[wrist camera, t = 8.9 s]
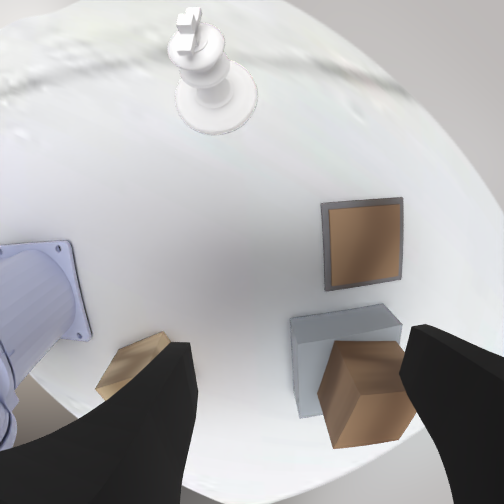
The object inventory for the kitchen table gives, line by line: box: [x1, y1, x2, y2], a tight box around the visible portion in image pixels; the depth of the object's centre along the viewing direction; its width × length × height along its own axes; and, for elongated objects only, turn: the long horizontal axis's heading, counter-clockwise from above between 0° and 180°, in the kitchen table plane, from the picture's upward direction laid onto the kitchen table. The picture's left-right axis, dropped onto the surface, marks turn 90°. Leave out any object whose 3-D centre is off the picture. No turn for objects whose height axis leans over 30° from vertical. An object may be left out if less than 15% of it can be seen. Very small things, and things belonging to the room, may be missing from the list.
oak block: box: [95, 331, 196, 401], centre depth 18 cm, size 4×4×5 cm
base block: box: [290, 304, 402, 418], centre depth 19 cm, size 7×7×4 cm
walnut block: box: [317, 340, 416, 449], centre depth 15 cm, size 4×4×5 cm
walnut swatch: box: [321, 197, 403, 291], centre depth 18 cm, size 6×6×1 cm
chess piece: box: [168, 7, 258, 135], centre depth 11 cm, size 5×5×10 cm
